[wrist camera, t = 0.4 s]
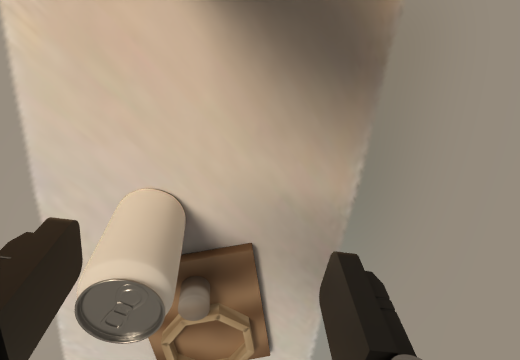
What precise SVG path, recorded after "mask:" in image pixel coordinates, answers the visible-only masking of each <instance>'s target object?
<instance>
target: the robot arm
mask: <svg viewBox="0 0 520 360" xmlns="http://www.w3.org/2000/svg"><path fill="white" fill-rule="evenodd" d="M81 268H82V248H81V238H80V227H79V223H78V221H76V220H69V219H60V218H52V217H50V218H48V219H46V220H45V221H44V222H43V224H42V225H41V226H40V227H39V228H38V229H37V230H36V231H35V232H34V233H31V232H26V233H24V234H22V235H20V236H19V237H17V238H15V239H13V240H11V241H10V242H8V243H7V244H6V245H5V246H4V247H3V248H2V249H1V250H0V360H28V359H29V358H30V356H31V354H32V353H33V351H34V349H35V348H36V346H37V345H38V343H39V341H40V340H41V338H42V336H43V335H44V333H45V331H46V330H47V328H48V327H49V325H50V323H51V322H52V320H53V319H54V317H55V315H56V314H57V312H58V310H59V309H60V307H61V306H62V304H63V302H64V301H65V299H66V297H67V296H68V294H69V293H70V291H71V289H72V288H73V286H74V284H75V283H76V281H77V279H78V277H79V275H80V272H81ZM319 301H320V308H321V312H322V316H323V321H324V325H325V330H326V334H327V339H328V343H329V348H330V352H331V356H332V360H422V359H420V358H417V356H416V354H415V352H414V350H413V348H412V345H411V343H410V341H409V339H408V337H407V334H406V332H405V330H404V328H403V326H402V324H401V322H400V319H399V317H398V315H397V313H396V312H395V309H394V307H393V304H392V302H391V301H390V300H389V296H388V293H387V291H386V289H385V287H384V285H383V283H382V282H381V281H380V280H379V279H378V278H377V277H376V276H375V275H374V274H373V273H372V272H369V271H364V268H363V266H362V263H361V261H360V259H359V257H358V255H357V254H352V253H343V252H333V253H332V254H331V256H330V259H329V262H328V265H327V268H326V271H325V274H324V277H323V280H322V283H321V287H320V294H319Z"/></svg>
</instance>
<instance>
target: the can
mask: <svg viewBox="0 0 520 360" xmlns="http://www.w3.org/2000/svg"><path fill="white" fill-rule="evenodd" d="M185 222H186V217H185V212H184V210H183V207H182V206H181V204H180V203H179V202H178V200H177V199H176V198H174V197H173V196H172V195H170V194H168V193H166V192H163V191H160V190H155V189H141V190H137V191H134V192H132V193H130V194H128V195H127V196H125V197H124V198H123V199H122V200H121V202H120V203H119V205H118V206H117V208H116V210H115V212H114V214H113V216H112V218H111V219H110V221H109V223H108V225H107V227H106V229H105V231H104V233H103V235H102V237H101V239H100V241H99V242H98V244H97V246H96V248H95V250H94V252H93V254H92V256H91V258H90V260H89V262H88V264H87V266H86V268H85V270H84V272H83V274H82V276H81V278H80V280H79V283H78V287H77V301H76V304H75V316H76V319H77V321H78V323H79V324H80V326H81V327H82V328H83V329H84V330H85V331H86V332H87V333H89V334H90V335H92V336H93V337H95V338H97V339H100V340H103V341H106V342H111V343H120V344H124V343H133V342H138V341H141V340H144V339H146V338H148V337H150V336H151V335H153V334H154V333H155V332H157V331H158V329H159V328H160V327H161V325H162V324H163V321H164V318H165V316H166V314H167V313H168V312H169V310H170V308H171V306H172V303H173V300H174V295H175V290H176V284H177V277H178V271H179V264H180V258H181V251H182V245H183V238H184V231H185Z"/></svg>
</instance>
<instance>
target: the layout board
mask: <svg viewBox="0 0 520 360" xmlns="http://www.w3.org/2000/svg"><path fill="white" fill-rule="evenodd" d="M148 338H149V341H150V343H151V346H152V349H153V351H154V354H155V356H156V359H157V360H249V359H255V358H260V357H265V356H270V350H269V344H268V338H267V332H266V326H265V320H264V314H263V308H262V302H261V296H260V290H259V284H258V278H257V272H256V266H255V260H254V254H253V248H252V243H248V244H242V245H236V246H230V247H225V248H219V249H213V250H207V251H201V252H195V253H189V254H184V255H181V258H180V264H179V271H178V277H177V284H176V290H175V295H174V300H173V303H172V306H171V308H170V310H169V312H168V313H167V314H166V316H165V318H164V321H163V324H162V325H161V327H160V328H159V329H158V331H157V332H155V333H154V334H153V335H151V336H150V337H148Z"/></svg>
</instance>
